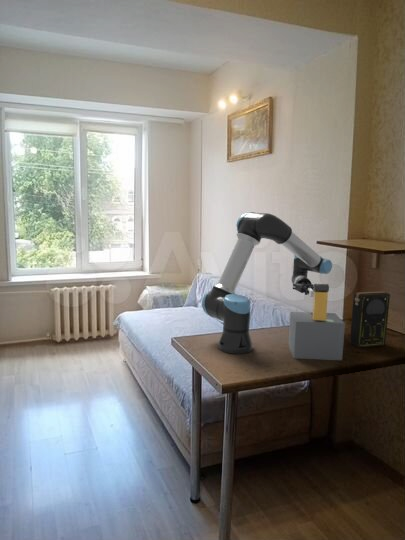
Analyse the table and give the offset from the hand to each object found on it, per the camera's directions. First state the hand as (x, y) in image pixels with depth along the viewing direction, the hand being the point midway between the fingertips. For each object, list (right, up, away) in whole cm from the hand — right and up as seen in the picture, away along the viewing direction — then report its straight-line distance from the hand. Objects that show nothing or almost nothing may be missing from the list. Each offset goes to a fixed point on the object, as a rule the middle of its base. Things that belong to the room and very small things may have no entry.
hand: (312, 293), depth 194 cm
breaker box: (-1, -25, -8) cm, 26 cm away
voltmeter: (+27, -24, +4) cm, 36 cm away
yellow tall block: (-1, -10, -15) cm, 18 cm away
